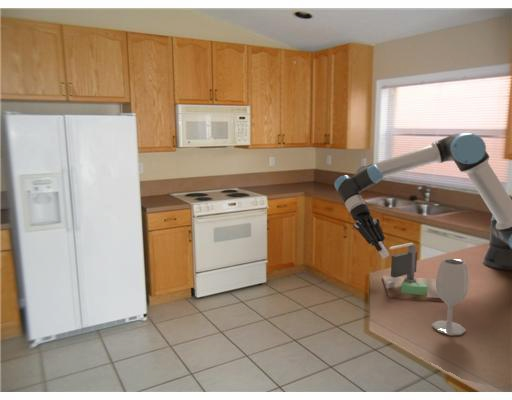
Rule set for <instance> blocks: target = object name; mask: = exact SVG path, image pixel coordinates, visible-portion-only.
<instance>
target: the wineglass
mask: <svg viewBox="0 0 512 400" xmlns="http://www.w3.org/2000/svg"><path fill="white" fill-rule="evenodd" d="M440 262H441V263H440V264H439V266H438V271H437V274H436V277H435V278H436V280H435V282H436V289H437V294H438V296H439V297H440V298H441V299H442V300H443V301H444V302H443V301H442V302H443V303H445V305H447V313H446V320H436V321H435V322H433V323H432V324H431V326H432V327H433V329H435V330H436V331H437V332H439V333H441V334H445V335H447V336H450V337H451V336H462V335H463V334H464V333H466V332H467V329H466V328H465V327H464V326H462V325H461V324H460V323H457V322H455V321H453V313H454V312H453V310H454V307H456V305H458V304H460V303H461V302H463V301H464V300H465V299H466V296H467V294H468V292H469V286H470V285H469V284H470V282H469V281H470V280H469V278H470V277H469V271H468V270H469V269H468V267H467V266H468V265H467V263H466V262H465V261H463V260H461V259H459V258H458V259H457V258H444V259H441V261H440Z"/></svg>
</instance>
